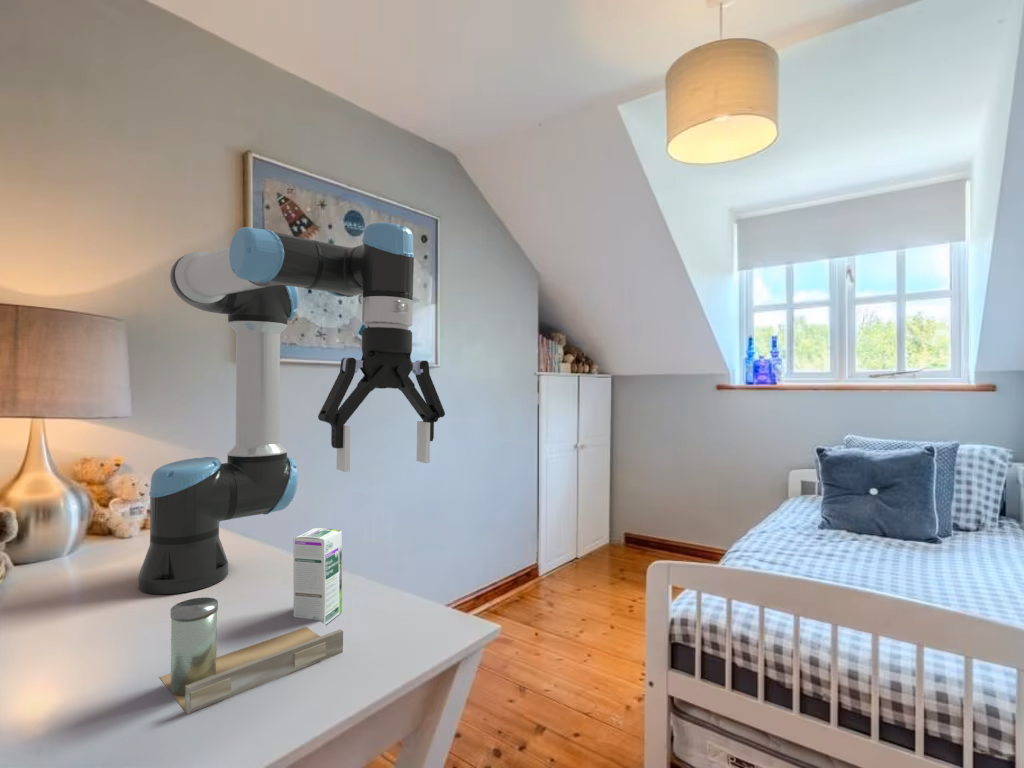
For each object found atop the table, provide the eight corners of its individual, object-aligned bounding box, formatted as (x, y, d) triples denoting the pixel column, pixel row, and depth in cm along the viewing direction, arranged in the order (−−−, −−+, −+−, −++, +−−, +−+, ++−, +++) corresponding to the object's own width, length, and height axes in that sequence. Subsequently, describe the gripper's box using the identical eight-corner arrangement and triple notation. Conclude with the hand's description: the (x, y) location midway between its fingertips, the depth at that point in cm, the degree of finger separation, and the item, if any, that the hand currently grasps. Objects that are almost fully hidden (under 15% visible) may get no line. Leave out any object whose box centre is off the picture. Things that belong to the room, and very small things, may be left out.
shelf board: (159, 686, 70) (159, 654, 70) (306, 634, 85) (306, 607, 85) (187, 725, 63) (188, 689, 63) (343, 660, 78) (344, 631, 77)
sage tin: (164, 684, 69) (165, 605, 69) (208, 668, 73) (209, 594, 72) (177, 701, 65) (178, 618, 65) (223, 684, 69) (224, 605, 69)
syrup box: (324, 628, 87) (325, 538, 87) (291, 624, 89) (292, 536, 88) (342, 613, 93) (343, 529, 93) (311, 609, 94) (312, 526, 94)
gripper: (316, 319, 72) (314, 478, 72) (467, 332, 88) (464, 461, 89) (296, 322, 77) (293, 470, 78) (441, 334, 94) (439, 456, 94)
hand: (385, 466), depth 83 cm, fingers open, 13 cm apart
